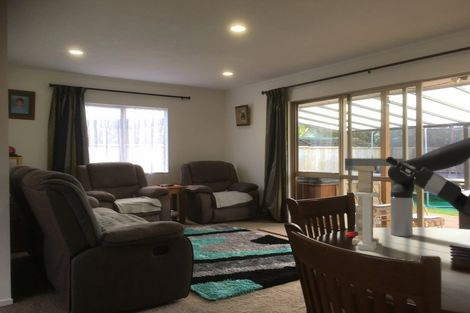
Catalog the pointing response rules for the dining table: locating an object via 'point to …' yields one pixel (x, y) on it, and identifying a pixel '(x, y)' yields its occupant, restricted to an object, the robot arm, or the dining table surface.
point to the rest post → (366, 221)
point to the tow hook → (355, 233)
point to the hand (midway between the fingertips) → (388, 158)
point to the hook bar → (367, 162)
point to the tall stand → (363, 186)
